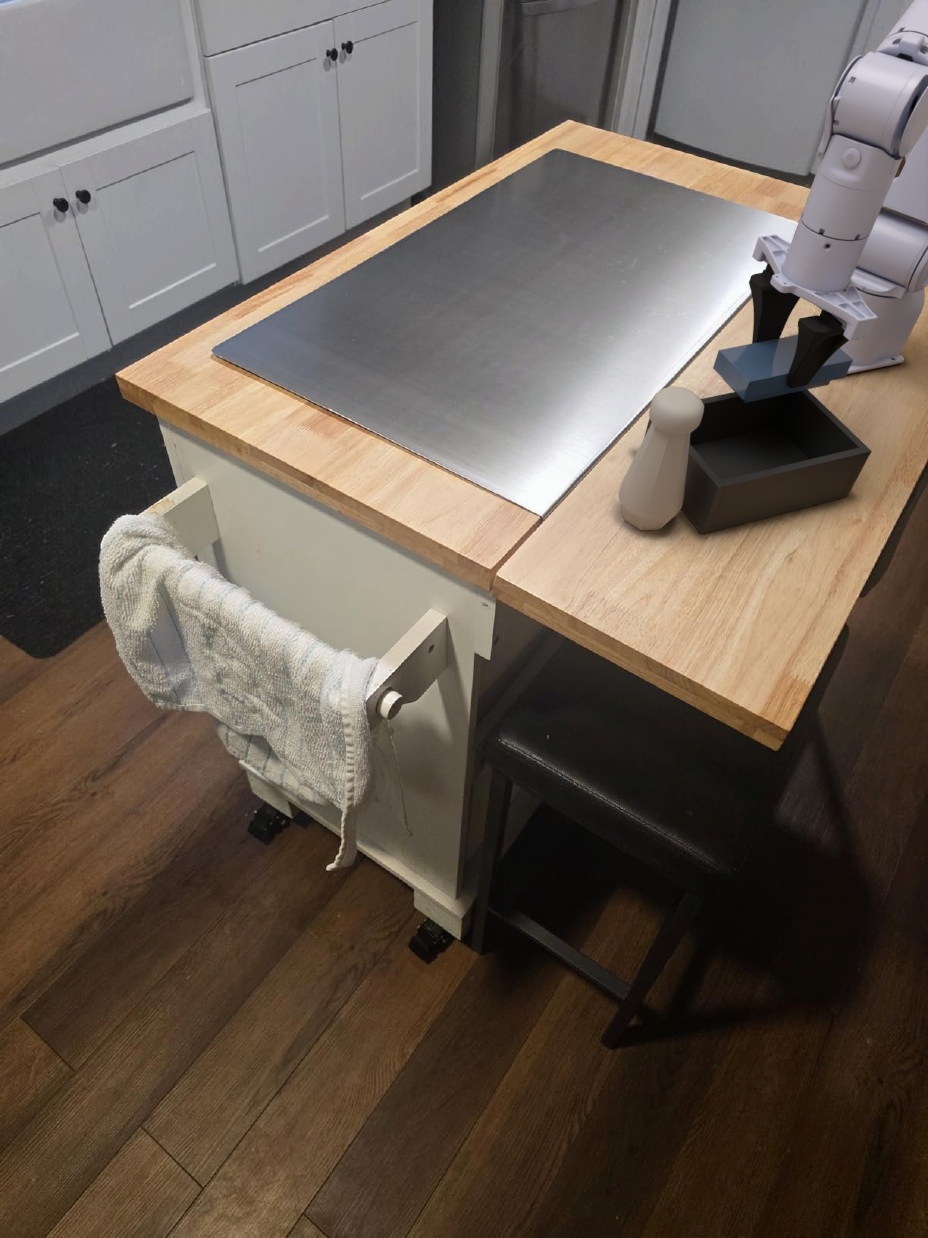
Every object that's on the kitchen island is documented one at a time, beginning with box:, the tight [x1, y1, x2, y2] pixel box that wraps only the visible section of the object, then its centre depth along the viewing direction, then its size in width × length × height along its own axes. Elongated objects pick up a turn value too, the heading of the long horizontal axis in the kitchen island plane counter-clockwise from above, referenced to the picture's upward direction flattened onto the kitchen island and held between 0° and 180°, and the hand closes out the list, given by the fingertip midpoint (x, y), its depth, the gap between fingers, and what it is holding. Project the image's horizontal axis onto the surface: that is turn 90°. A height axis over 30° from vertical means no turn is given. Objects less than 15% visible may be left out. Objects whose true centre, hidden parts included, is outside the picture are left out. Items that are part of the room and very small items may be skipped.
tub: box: [643, 389, 873, 535], centre depth 83 cm, size 17×12×6 cm
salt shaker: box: [617, 385, 704, 531], centre depth 75 cm, size 6×6×13 cm
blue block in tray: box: [712, 334, 853, 403], centre depth 82 cm, size 5×12×3 cm, turn 112°
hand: (778, 366), depth 82 cm, fingers closed on blue block in tray, 5 cm apart
